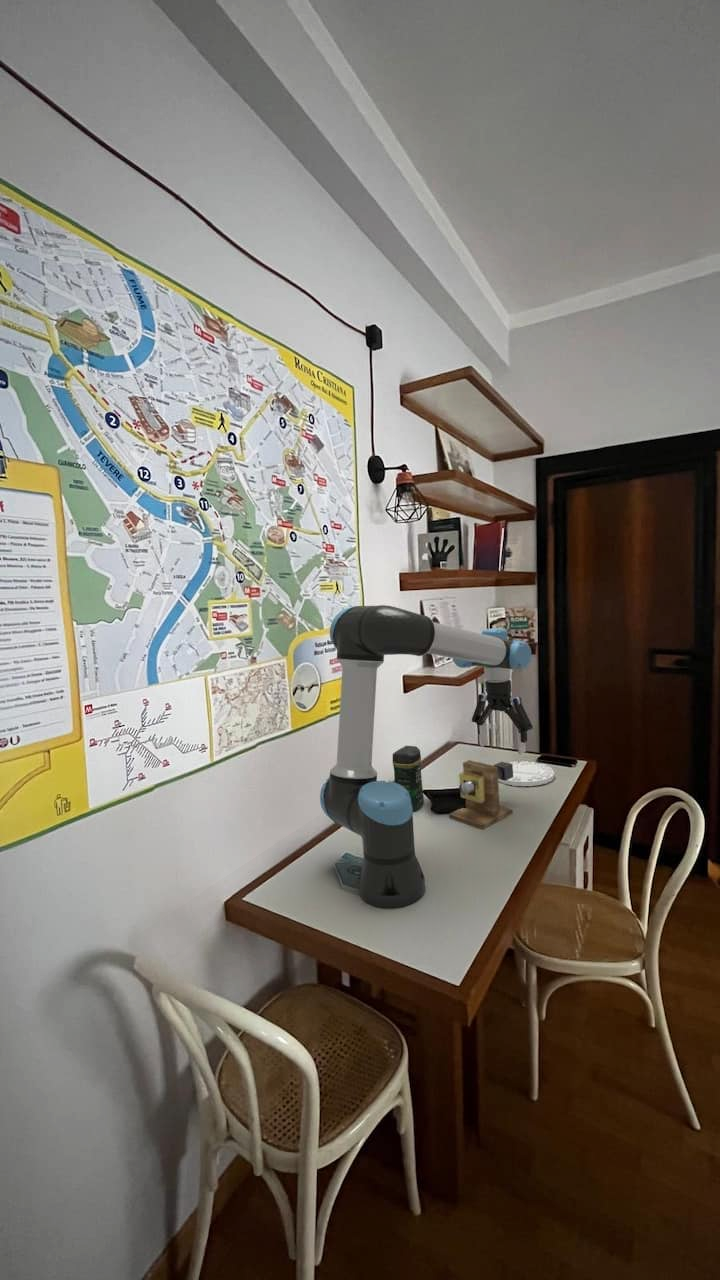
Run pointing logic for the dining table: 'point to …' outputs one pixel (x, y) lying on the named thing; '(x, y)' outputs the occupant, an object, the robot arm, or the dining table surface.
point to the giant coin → (529, 774)
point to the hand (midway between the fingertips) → (502, 748)
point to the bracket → (489, 809)
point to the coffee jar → (409, 773)
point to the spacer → (479, 786)
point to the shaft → (503, 773)
